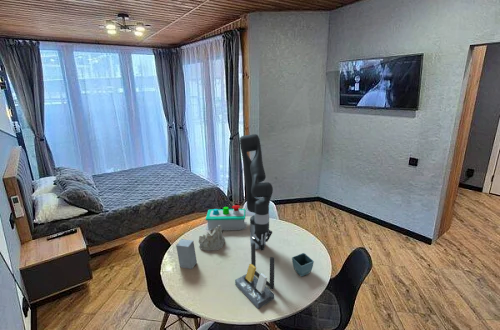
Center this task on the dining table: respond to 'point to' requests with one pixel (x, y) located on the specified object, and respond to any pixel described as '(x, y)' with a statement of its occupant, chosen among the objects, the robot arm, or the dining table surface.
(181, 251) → the skincare box
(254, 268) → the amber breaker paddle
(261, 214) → the robot arm
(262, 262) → the dining table surface
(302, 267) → the flower pot
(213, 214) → the control panel
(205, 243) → the jagged rock sculpture
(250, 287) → the strip
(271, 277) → the cable posts
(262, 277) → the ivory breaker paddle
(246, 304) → the dining table surface
